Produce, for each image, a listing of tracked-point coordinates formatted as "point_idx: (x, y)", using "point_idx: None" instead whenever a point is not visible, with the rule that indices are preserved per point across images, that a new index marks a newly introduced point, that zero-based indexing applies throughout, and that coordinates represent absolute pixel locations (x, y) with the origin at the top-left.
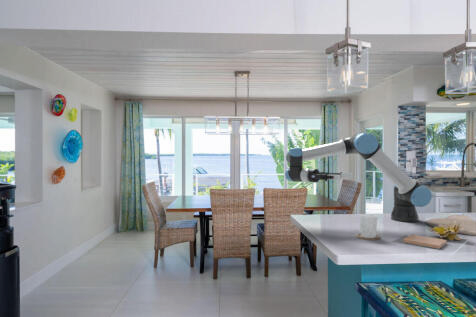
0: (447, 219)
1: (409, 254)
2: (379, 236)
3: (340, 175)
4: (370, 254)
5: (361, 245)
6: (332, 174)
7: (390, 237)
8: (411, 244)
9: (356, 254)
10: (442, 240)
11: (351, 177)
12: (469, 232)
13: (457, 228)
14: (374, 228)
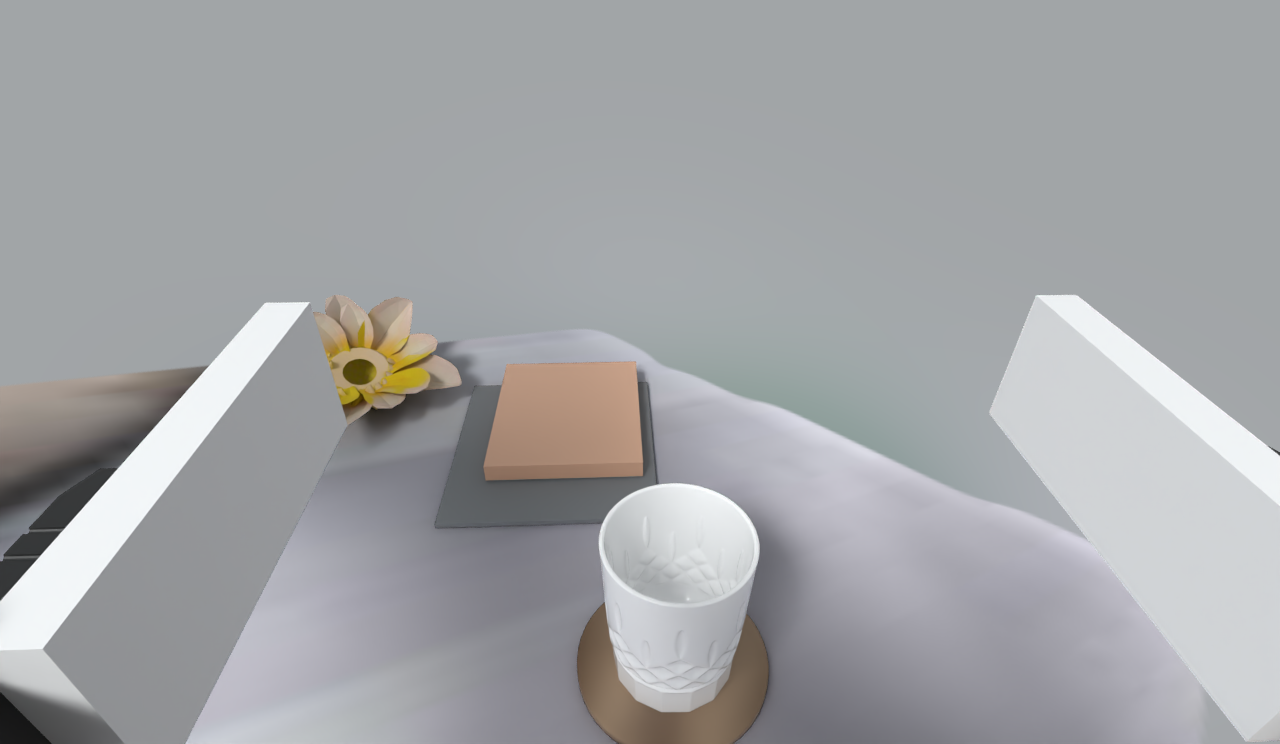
0: None
1: (805, 420)
2: (603, 604)
3: (1031, 313)
4: (987, 507)
5: (898, 605)
6: (1225, 456)
7: (537, 569)
8: (644, 447)
9: (1070, 547)
10: (528, 370)
11: (331, 420)
12: (153, 375)
13: (367, 327)
14: (688, 555)
